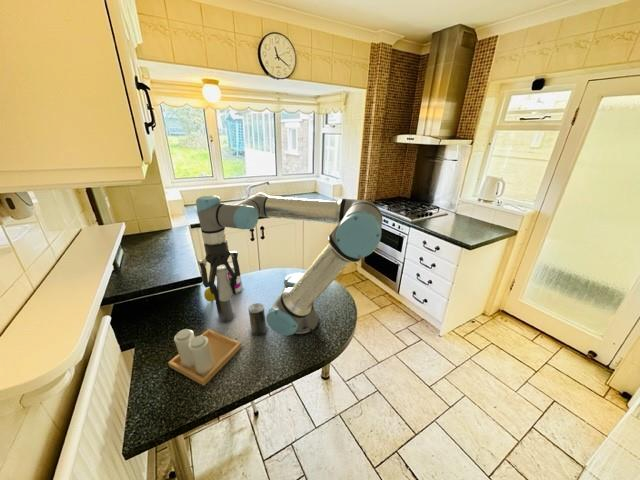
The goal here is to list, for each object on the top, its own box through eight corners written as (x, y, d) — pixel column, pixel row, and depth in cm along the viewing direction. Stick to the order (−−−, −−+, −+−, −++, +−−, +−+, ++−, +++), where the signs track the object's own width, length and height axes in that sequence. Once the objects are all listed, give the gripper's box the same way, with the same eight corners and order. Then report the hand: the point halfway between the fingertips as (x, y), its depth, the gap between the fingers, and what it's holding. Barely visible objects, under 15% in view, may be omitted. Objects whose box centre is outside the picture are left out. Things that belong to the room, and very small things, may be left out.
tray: (241, 347, 99) (240, 342, 98) (204, 387, 84) (202, 381, 83) (209, 333, 105) (208, 328, 104) (169, 367, 90) (167, 362, 89)
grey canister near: (269, 328, 108) (266, 305, 103) (260, 338, 103) (257, 314, 98) (257, 324, 110) (255, 301, 105) (248, 333, 105) (245, 310, 100)
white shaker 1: (203, 357, 94) (196, 330, 88) (189, 370, 89) (181, 342, 83) (192, 352, 96) (184, 325, 91) (178, 364, 91) (169, 336, 86)
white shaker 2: (218, 364, 91) (211, 337, 86) (204, 378, 86) (196, 350, 81) (205, 358, 93) (198, 331, 88) (191, 371, 88) (183, 343, 83)
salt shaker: (236, 298, 98) (231, 269, 92) (221, 305, 94) (215, 275, 89) (229, 291, 102) (225, 263, 96) (215, 297, 98) (209, 268, 93)
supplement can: (237, 295, 129) (233, 269, 123) (222, 293, 130) (218, 268, 124) (245, 286, 136) (241, 261, 130) (231, 284, 138) (226, 260, 131)
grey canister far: (236, 316, 115) (232, 294, 110) (226, 324, 110) (222, 302, 105) (226, 312, 117) (222, 290, 112) (216, 320, 112) (211, 298, 108)
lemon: (210, 306, 121) (207, 292, 118) (203, 302, 124) (200, 288, 120) (220, 300, 125) (217, 286, 122) (213, 296, 128) (210, 283, 125)
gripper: (237, 231, 96) (244, 283, 106) (183, 244, 85) (196, 301, 95) (245, 237, 91) (252, 291, 100) (189, 252, 80) (203, 311, 90)
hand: (225, 296), depth 98 cm, fingers closed on salt shaker, 6 cm apart
